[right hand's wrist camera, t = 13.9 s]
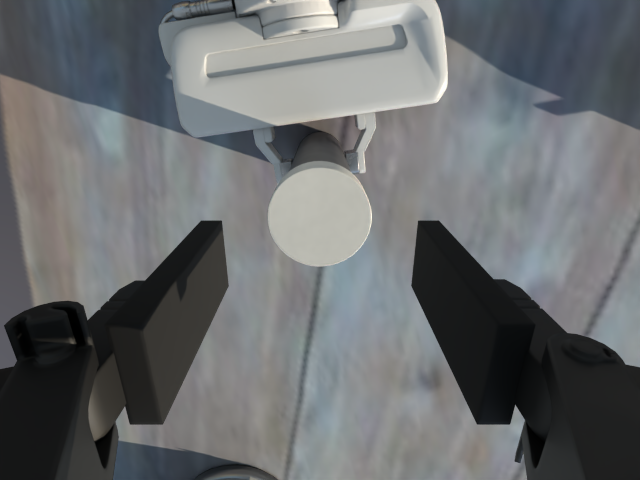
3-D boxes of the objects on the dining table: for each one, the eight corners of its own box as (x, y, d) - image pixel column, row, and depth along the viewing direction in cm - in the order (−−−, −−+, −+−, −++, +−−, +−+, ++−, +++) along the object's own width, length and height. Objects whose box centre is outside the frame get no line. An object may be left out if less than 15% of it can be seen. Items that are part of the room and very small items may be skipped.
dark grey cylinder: (340, 129, 35) (361, 167, 17) (344, 175, 37) (367, 253, 19) (294, 134, 36) (267, 177, 18) (300, 179, 37) (281, 261, 19)
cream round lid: (364, 155, 18) (368, 161, 17) (370, 247, 20) (374, 261, 19) (264, 166, 19) (259, 173, 17) (279, 256, 21) (275, 271, 19)
